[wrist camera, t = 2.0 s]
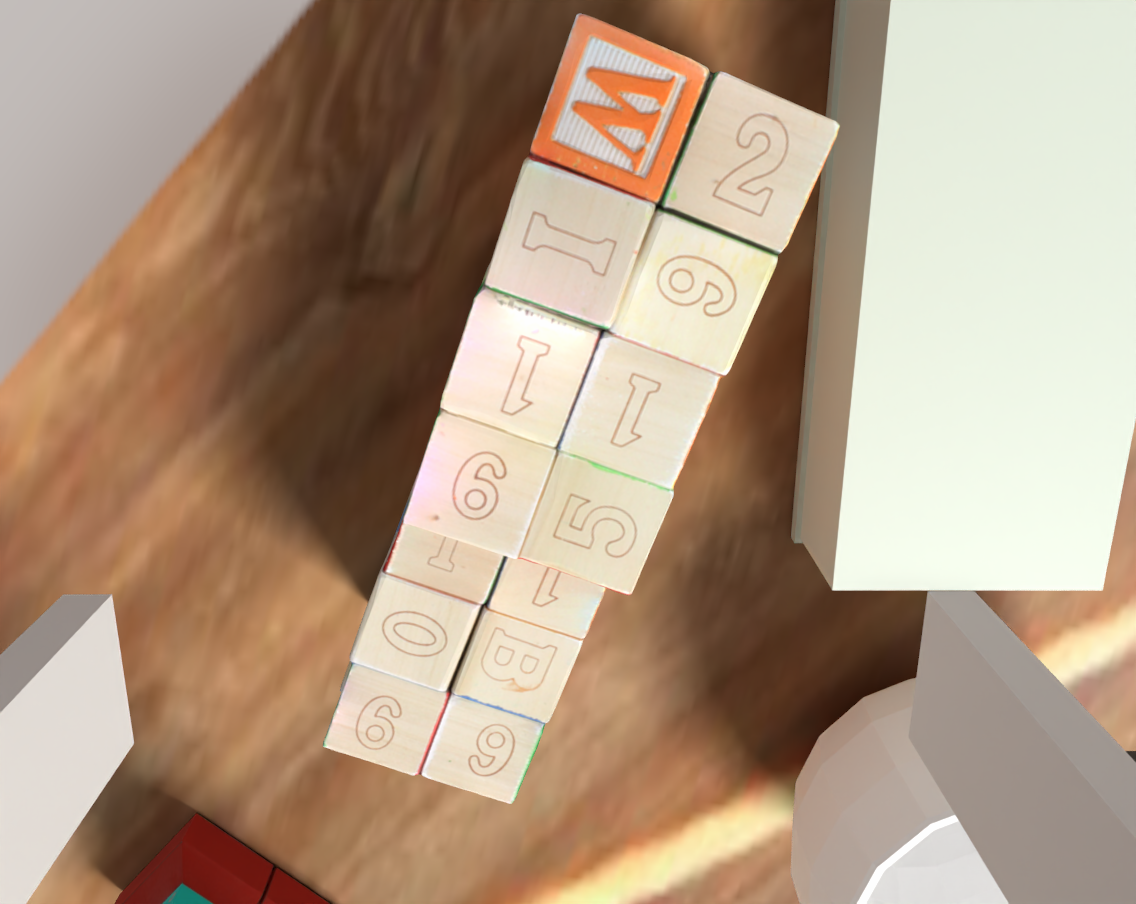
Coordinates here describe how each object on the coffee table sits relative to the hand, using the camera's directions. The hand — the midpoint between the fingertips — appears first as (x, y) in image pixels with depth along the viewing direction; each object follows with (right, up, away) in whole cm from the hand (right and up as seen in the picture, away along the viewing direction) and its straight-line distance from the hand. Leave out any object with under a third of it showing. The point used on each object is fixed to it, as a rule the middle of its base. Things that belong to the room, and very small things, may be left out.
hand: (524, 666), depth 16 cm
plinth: (+14, +12, +18) cm, 25 cm away
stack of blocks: (0, +6, +20) cm, 21 cm away
